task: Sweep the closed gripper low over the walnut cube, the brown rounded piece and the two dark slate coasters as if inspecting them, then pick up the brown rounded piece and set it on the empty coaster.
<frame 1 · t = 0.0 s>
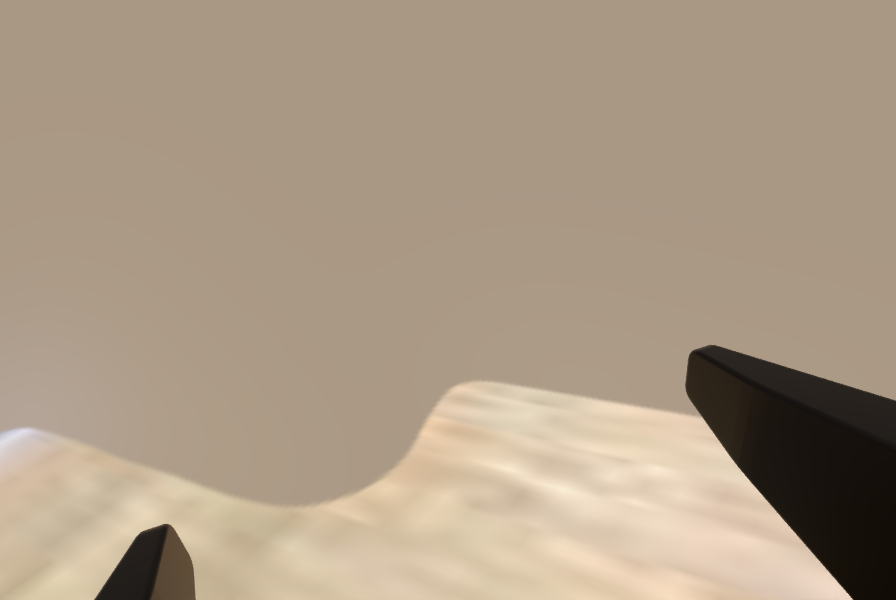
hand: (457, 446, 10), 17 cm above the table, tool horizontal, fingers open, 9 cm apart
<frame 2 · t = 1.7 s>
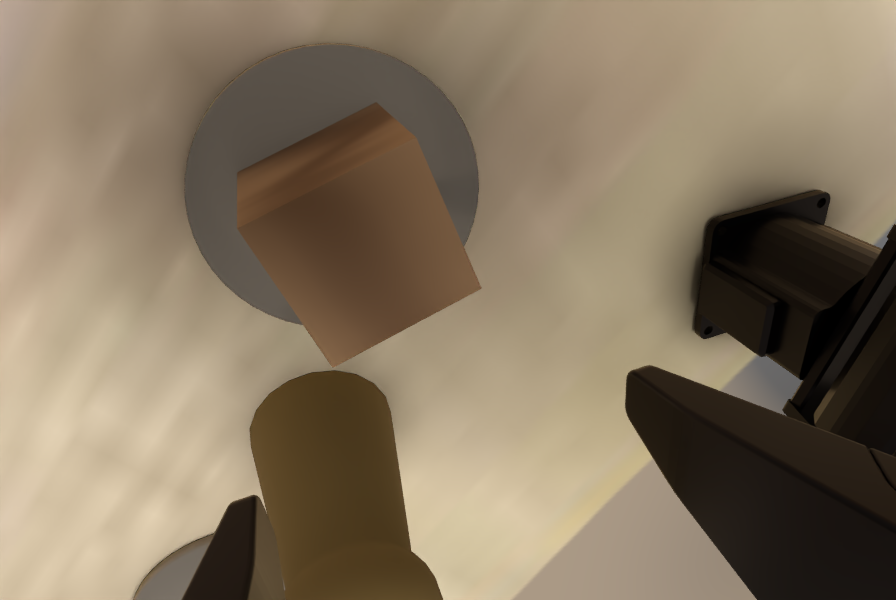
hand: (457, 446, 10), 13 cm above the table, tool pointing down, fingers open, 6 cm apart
coaster empty: (245, 599, 28), on the table
brown rounded piece: (322, 425, 25), on the table
walnut cube: (343, 202, 20), point 1 cm above the table, touching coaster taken
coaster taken: (340, 197, 20), on the table
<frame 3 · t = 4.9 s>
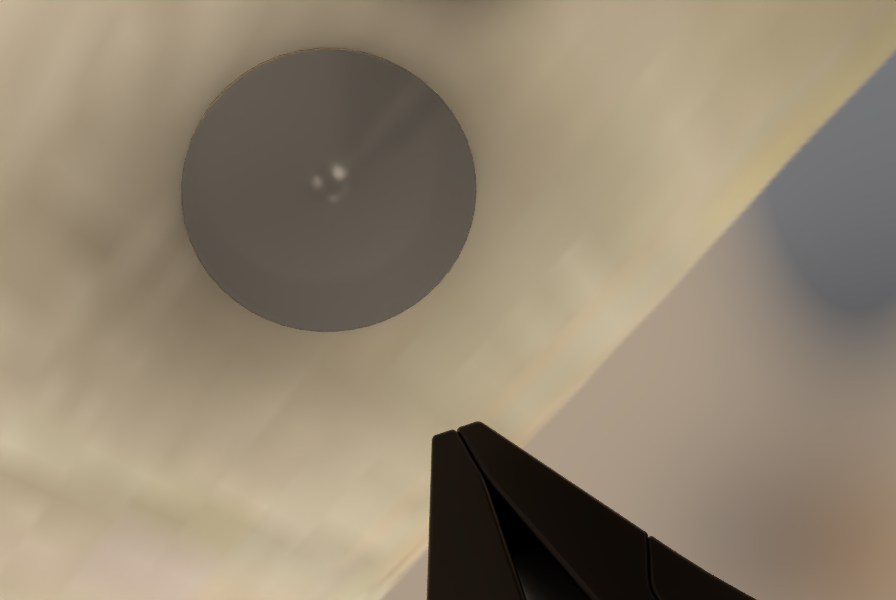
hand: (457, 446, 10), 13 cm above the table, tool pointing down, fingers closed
coaster empty: (337, 201, 20), on the table
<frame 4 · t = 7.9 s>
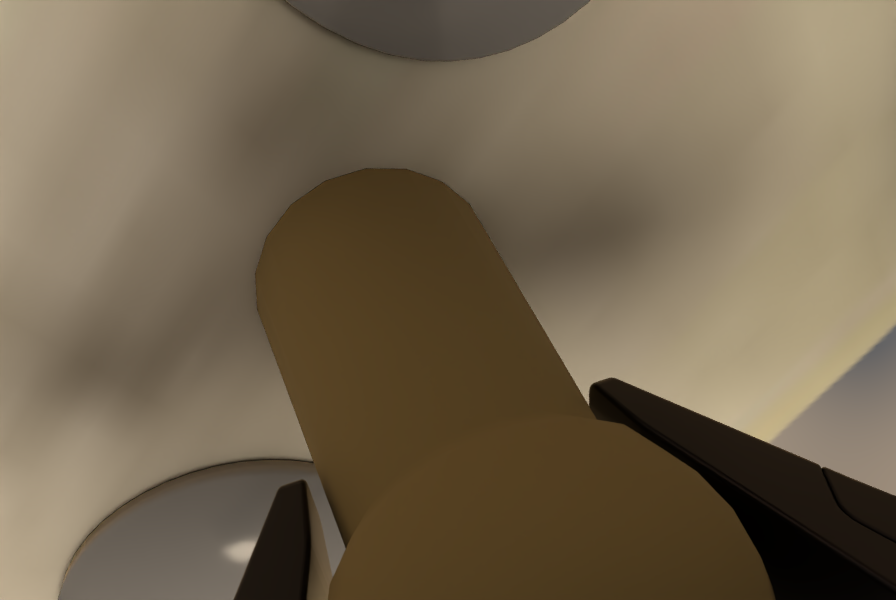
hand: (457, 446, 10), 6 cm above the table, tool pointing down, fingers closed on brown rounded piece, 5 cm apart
coaster empty: (248, 582, 18), on the table
brown rounded piece: (378, 281, 15), on the table, touching gripper
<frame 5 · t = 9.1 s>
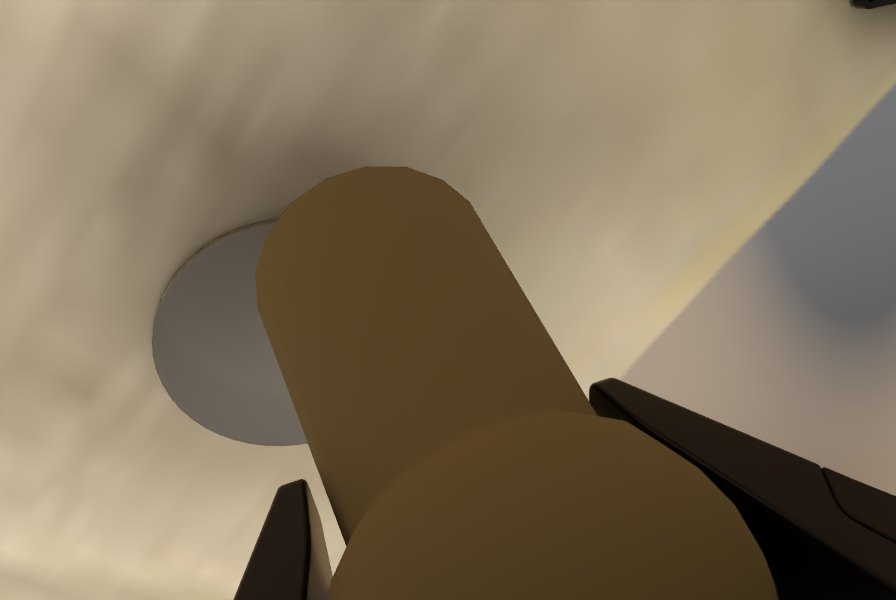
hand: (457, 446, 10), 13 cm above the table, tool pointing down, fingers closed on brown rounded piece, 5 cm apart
coaster empty: (294, 338, 23), on the table
brown rounded piece: (378, 280, 15), point 7 cm above the table, touching gripper
when the fingers open (8 cm above the table, at t = 10.8 s): brown rounded piece drops 1 cm, resting on coaster empty.
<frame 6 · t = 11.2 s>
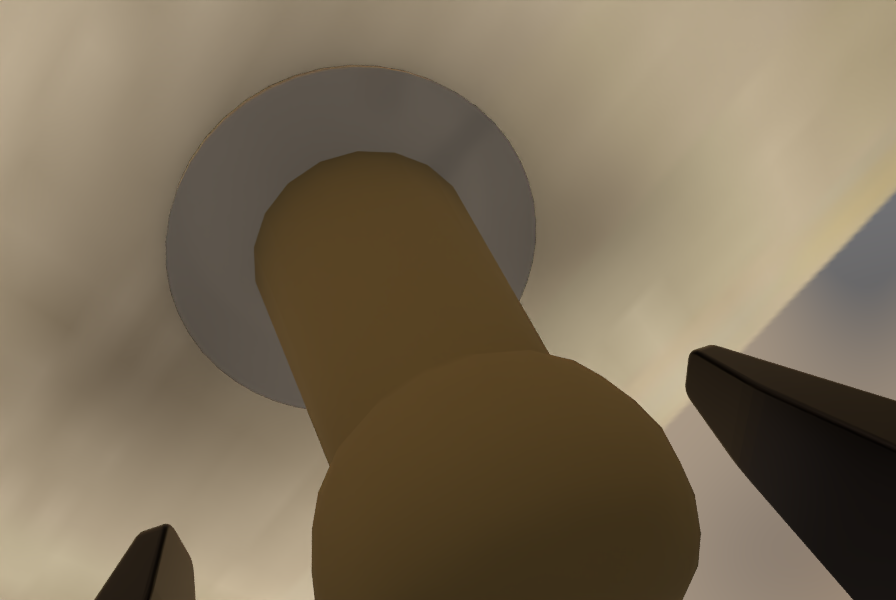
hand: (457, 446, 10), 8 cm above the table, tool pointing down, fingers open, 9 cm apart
coaster empty: (364, 255, 16), on the table
brown rounded piece: (368, 258, 16), resting on coaster empty
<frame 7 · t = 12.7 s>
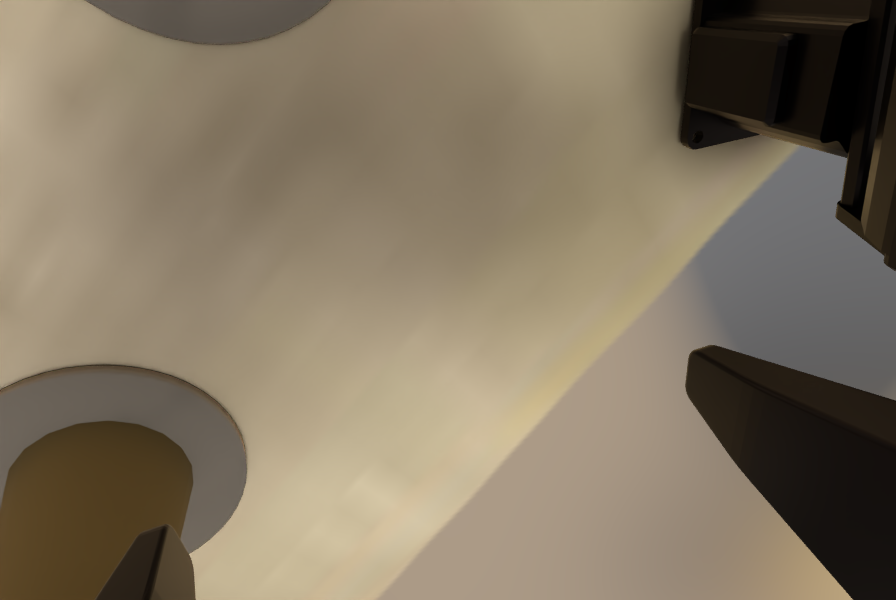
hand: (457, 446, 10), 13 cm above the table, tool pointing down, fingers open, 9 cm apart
coaster empty: (106, 476, 22), on the table
brown rounded piece: (105, 482, 21), resting on coaster empty
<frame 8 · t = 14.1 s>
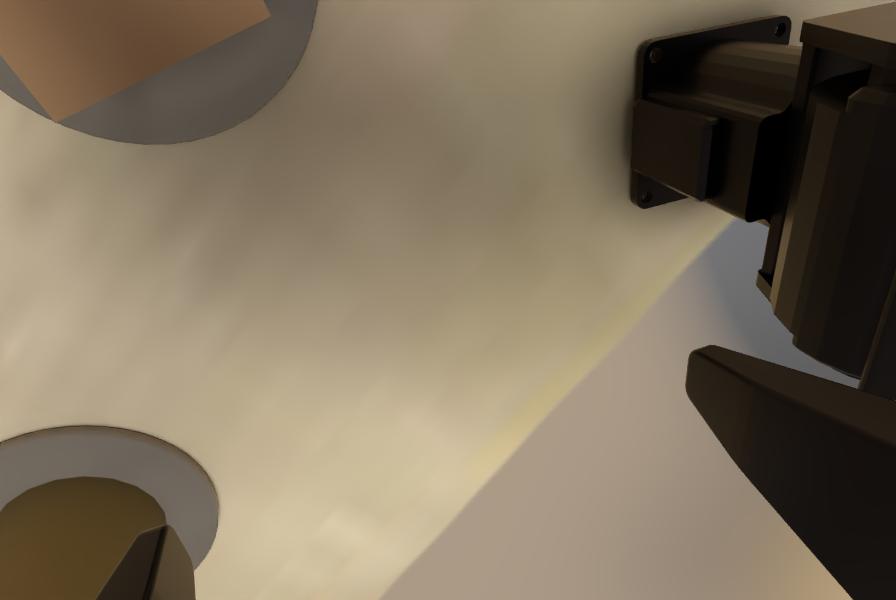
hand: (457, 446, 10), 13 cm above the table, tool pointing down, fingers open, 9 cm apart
coaster empty: (86, 523, 23), on the table
brown rounded piece: (84, 529, 23), resting on coaster empty
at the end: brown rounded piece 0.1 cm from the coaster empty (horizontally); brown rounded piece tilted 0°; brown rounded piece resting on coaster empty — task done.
